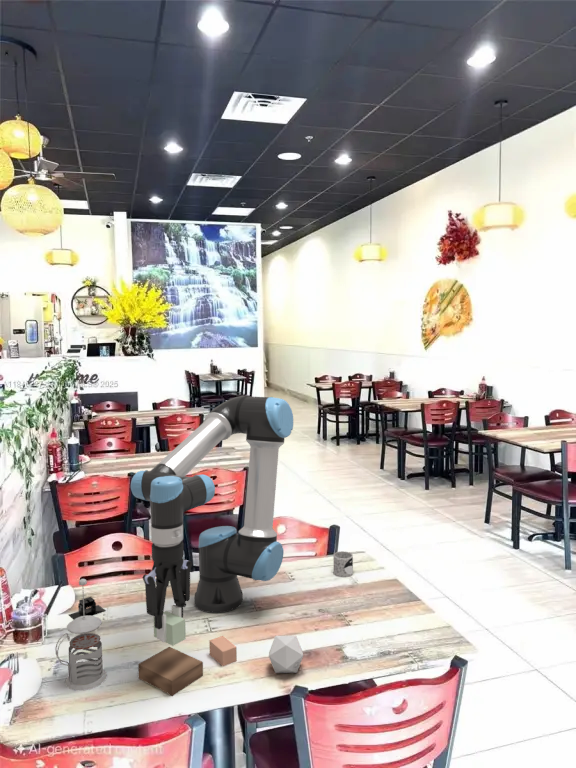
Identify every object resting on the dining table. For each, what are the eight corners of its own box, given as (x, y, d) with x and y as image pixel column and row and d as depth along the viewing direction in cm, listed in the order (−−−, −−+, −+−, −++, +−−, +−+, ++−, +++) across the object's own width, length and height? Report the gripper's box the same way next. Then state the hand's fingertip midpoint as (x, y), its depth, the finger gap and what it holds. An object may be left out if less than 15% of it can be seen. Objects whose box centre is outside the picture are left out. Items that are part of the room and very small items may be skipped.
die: (291, 687, 142) (312, 648, 145) (259, 665, 144) (281, 627, 146) (290, 679, 151) (310, 643, 153) (260, 659, 152) (281, 623, 154)
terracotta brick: (209, 655, 156) (209, 640, 155) (222, 650, 158) (222, 635, 158) (223, 667, 150) (222, 651, 150) (236, 661, 152) (236, 646, 152)
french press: (112, 681, 144) (109, 581, 142) (62, 698, 138) (58, 593, 135) (101, 663, 152) (97, 567, 150) (53, 677, 146) (49, 578, 144)
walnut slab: (138, 679, 145) (138, 663, 145) (169, 661, 153) (169, 646, 153) (172, 697, 138) (171, 681, 138) (203, 677, 146) (202, 661, 146)
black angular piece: (71, 625, 173) (71, 610, 172) (62, 616, 178) (61, 602, 178) (112, 612, 181) (111, 597, 181) (101, 604, 186) (101, 589, 186)
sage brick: (154, 636, 145) (153, 616, 145) (166, 630, 148) (166, 610, 148) (172, 645, 141) (172, 625, 140) (185, 639, 144) (185, 619, 144)
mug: (347, 578, 203) (347, 559, 202) (330, 574, 206) (330, 556, 206) (359, 568, 212) (359, 550, 211) (342, 565, 215) (342, 547, 214)
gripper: (148, 555, 134) (150, 655, 136) (204, 535, 147) (206, 627, 149) (128, 548, 138) (130, 645, 140) (184, 529, 152) (185, 618, 154)
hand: (169, 635), depth 145 cm, fingers closed on sage brick, 4 cm apart
